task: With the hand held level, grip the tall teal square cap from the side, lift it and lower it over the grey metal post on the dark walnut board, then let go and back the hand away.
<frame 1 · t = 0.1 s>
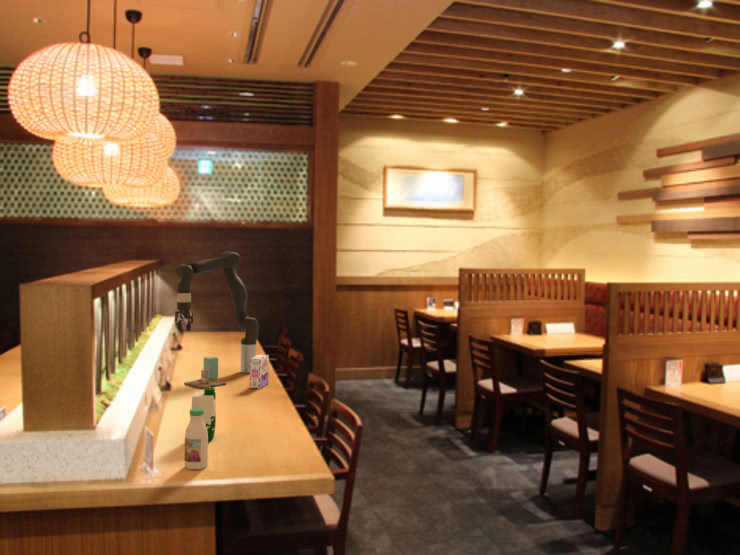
hand: (183, 330, 348), 29 cm above the table, tool pointing down, fingers open, 8 cm apart
milk bottle: (196, 467, 218), on the table
walnut base: (205, 384, 346), on the table
teal cap: (210, 378, 363), on the table
candy box: (259, 386, 346), on the table
white green-capped container: (203, 439, 250), on the table
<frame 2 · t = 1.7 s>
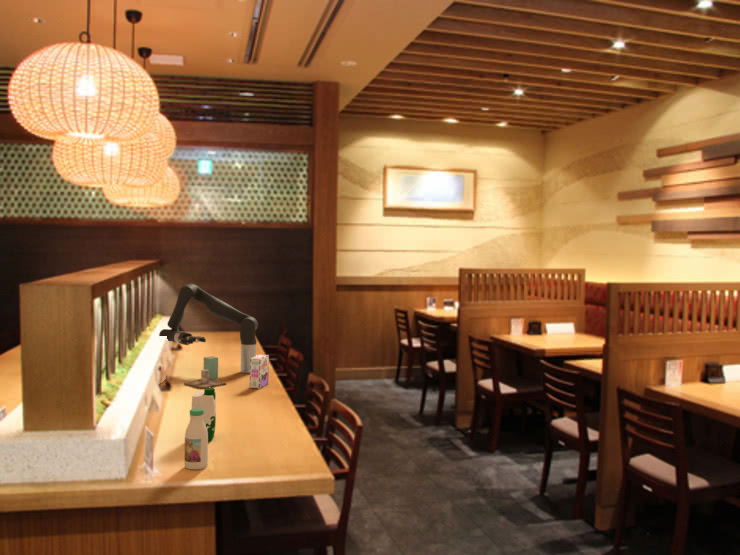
hand: (198, 341, 370), 20 cm above the table, tool horizontal, fingers open, 8 cm apart
nothing on the table moved.
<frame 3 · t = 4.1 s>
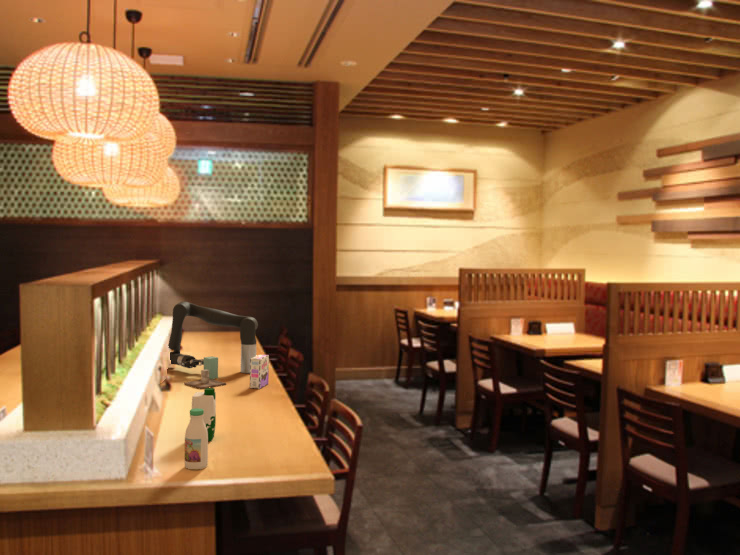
hand: (202, 364, 369), 7 cm above the table, tool horizontal, fingers open, 8 cm apart
nothing on the table moved.
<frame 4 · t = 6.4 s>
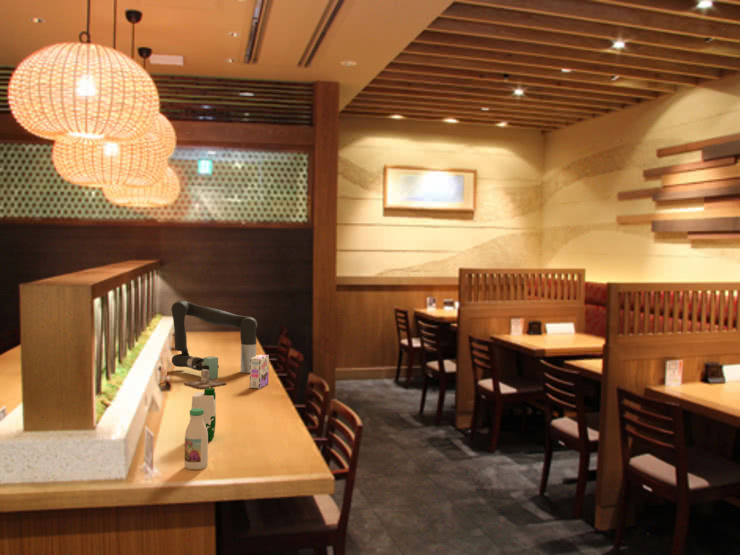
hand: (213, 367, 361), 7 cm above the table, tool horizontal, fingers closed on teal cap, 5 cm apart
teal cap: (210, 378, 363), on the table, touching gripper
everything else where it was.
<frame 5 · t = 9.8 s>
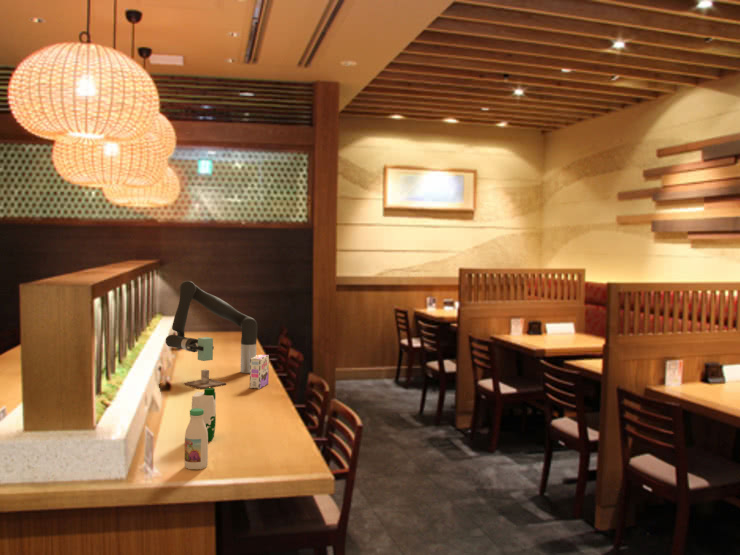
hand: (207, 348, 346), 20 cm above the table, tool horizontal, fingers closed on teal cap, 5 cm apart
teal cap: (205, 359, 348), point 13 cm above the table, touching gripper
everything else where it was.
when the fingers open (9 cm above the table, at t = 13.1 s): teal cap drops 2 cm, resting on walnut base.
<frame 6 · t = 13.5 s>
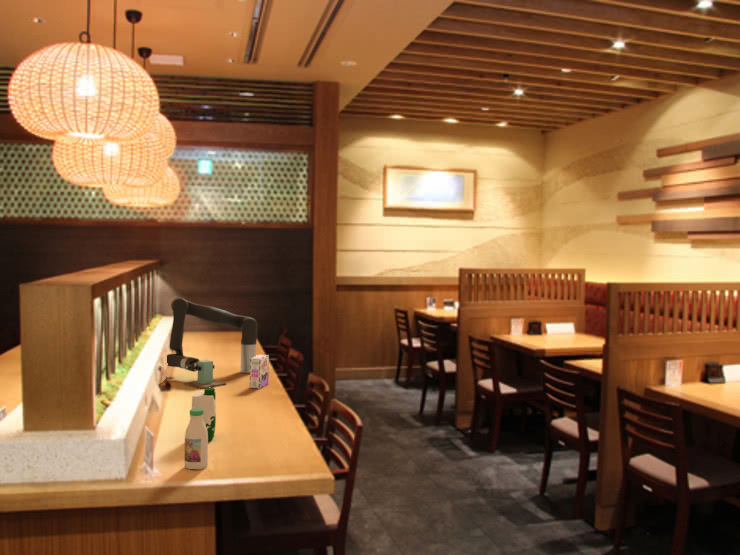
hand: (207, 367, 345), 10 cm above the table, tool horizontal, fingers open, 8 cm apart
teal cap: (205, 382, 346), point 1 cm above the table, touching walnut base
everything else where it was.
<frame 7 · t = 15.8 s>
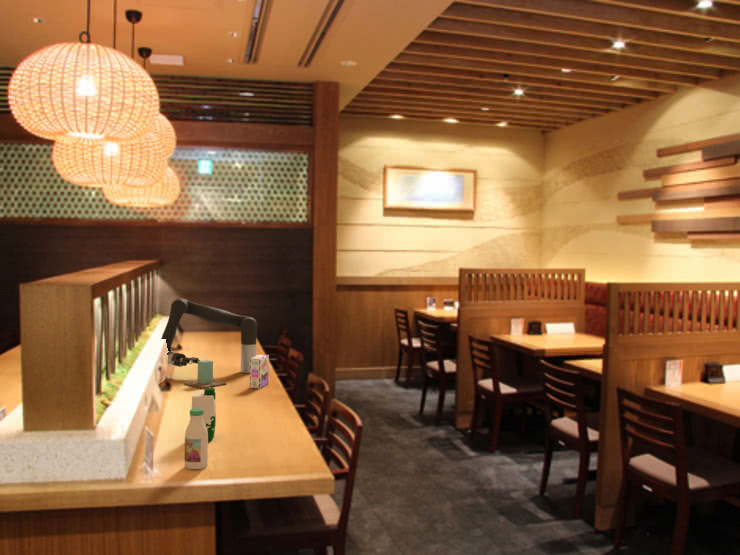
hand: (192, 363, 354), 10 cm above the table, tool horizontal, fingers open, 8 cm apart
nothing on the table moved.
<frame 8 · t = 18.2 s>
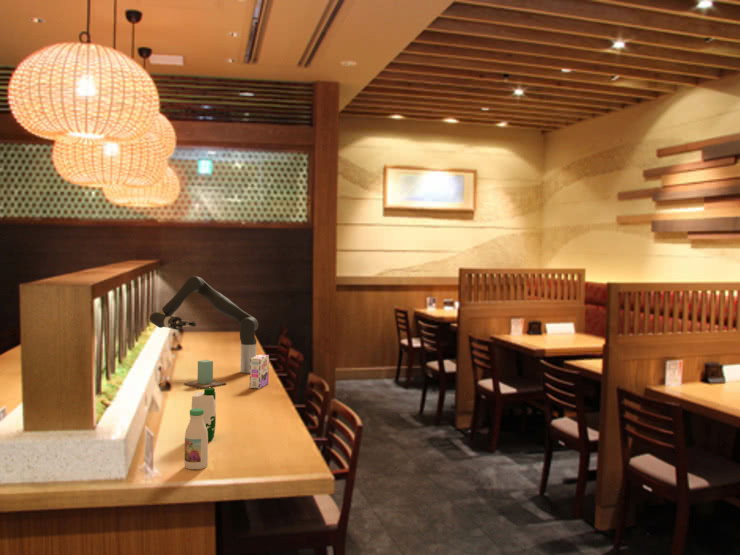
hand: (188, 325, 365), 30 cm above the table, tool horizontal, fingers open, 8 cm apart
nothing on the table moved.
at the end: teal cap 0.0 cm from the walnut base (horizontally); teal cap point 1.0 cm above the table; the gripper is holding nothing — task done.
